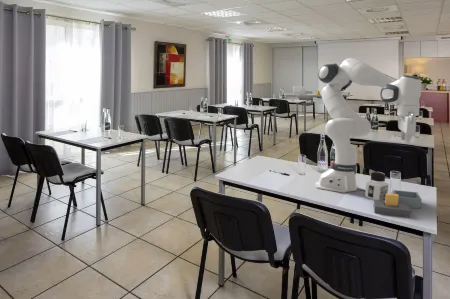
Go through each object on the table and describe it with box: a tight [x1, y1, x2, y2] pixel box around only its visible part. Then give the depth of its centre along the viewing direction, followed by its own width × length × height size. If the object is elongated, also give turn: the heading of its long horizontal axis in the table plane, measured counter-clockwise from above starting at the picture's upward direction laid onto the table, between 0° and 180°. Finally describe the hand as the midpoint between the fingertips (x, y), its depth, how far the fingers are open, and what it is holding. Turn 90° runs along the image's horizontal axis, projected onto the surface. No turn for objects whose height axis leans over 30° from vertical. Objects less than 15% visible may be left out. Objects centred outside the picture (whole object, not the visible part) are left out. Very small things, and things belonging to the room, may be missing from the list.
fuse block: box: [372, 199, 411, 218], centre depth 154 cm, size 14×10×3 cm
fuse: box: [384, 192, 399, 207], centre depth 154 cm, size 5×2×8 cm, turn 70°
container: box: [364, 171, 389, 201], centre depth 171 cm, size 8×8×13 cm
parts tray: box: [391, 189, 423, 209], centre depth 164 cm, size 11×11×4 cm
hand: (405, 141), depth 157 cm, fingers open, 8 cm apart
